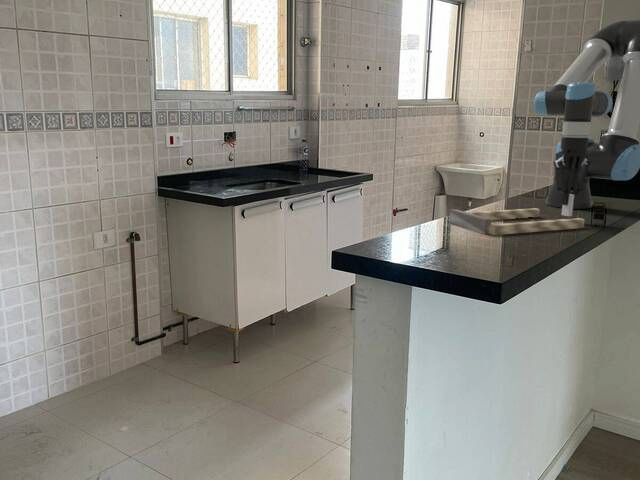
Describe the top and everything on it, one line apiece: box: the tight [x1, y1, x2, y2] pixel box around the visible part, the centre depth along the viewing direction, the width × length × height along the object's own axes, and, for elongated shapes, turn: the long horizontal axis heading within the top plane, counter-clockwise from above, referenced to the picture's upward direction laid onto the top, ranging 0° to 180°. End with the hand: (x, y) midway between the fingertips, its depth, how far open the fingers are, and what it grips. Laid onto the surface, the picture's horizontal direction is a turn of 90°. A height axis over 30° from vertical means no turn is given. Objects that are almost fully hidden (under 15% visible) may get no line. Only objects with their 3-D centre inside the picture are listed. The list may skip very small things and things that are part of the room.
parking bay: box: [448, 207, 585, 236], centre depth 174 cm, size 34×20×4 cm, turn 113°
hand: (566, 215), depth 182 cm, fingers closed
